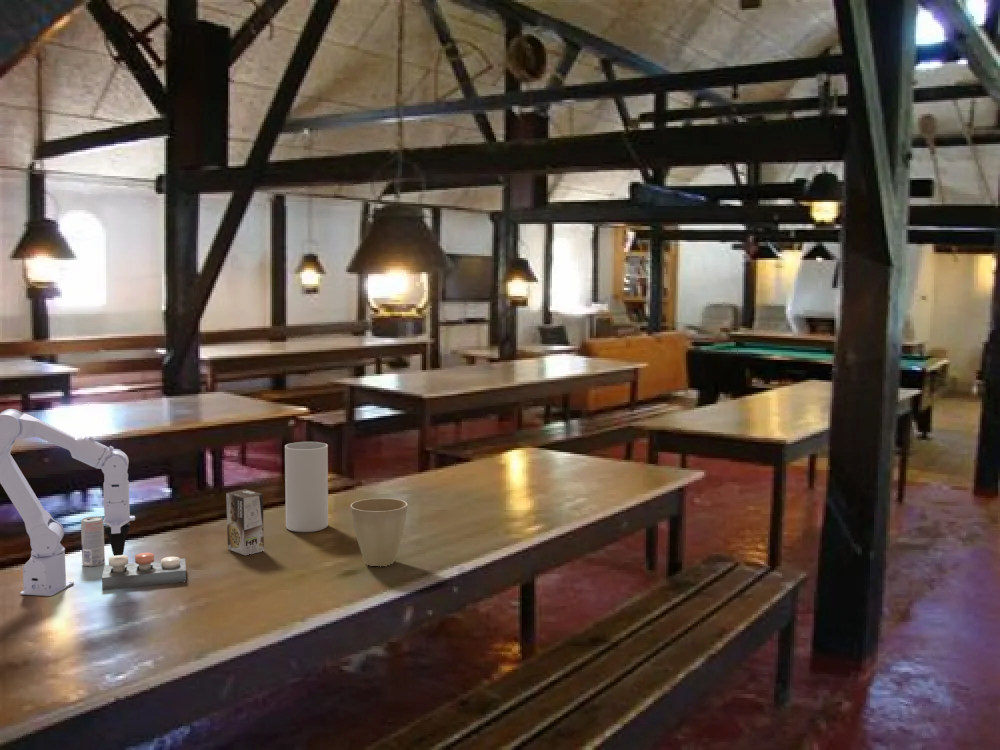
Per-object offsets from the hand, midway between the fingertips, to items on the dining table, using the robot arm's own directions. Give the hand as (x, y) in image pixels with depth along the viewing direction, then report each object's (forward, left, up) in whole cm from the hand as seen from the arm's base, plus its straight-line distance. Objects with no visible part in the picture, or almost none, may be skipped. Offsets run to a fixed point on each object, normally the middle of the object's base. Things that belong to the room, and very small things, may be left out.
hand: (118, 554), depth 225 cm
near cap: (0, 0, -5) cm, 5 cm away
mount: (+3, -5, -7) cm, 9 cm away
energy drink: (+12, +14, -7) cm, 20 cm away
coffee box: (+30, -20, -7) cm, 37 cm away
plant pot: (+25, -59, -7) cm, 65 cm away
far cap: (+5, -11, -6) cm, 14 cm away
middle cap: (+3, -5, -5) cm, 8 cm away
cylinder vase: (+55, -29, -7) cm, 63 cm away
